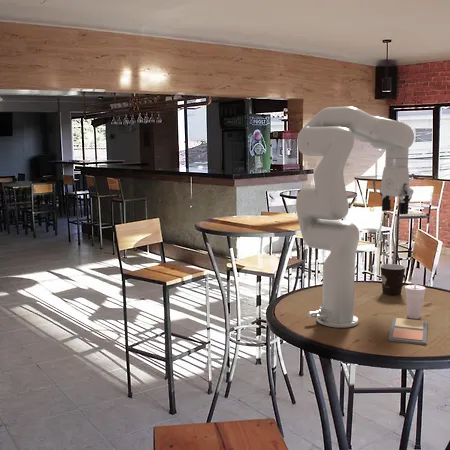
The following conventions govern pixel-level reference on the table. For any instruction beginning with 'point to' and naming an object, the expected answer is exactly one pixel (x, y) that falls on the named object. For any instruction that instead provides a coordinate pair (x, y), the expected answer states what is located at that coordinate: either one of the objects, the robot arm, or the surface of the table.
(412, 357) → the table surface
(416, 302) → the smoothie
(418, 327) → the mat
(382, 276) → the coffee mug
